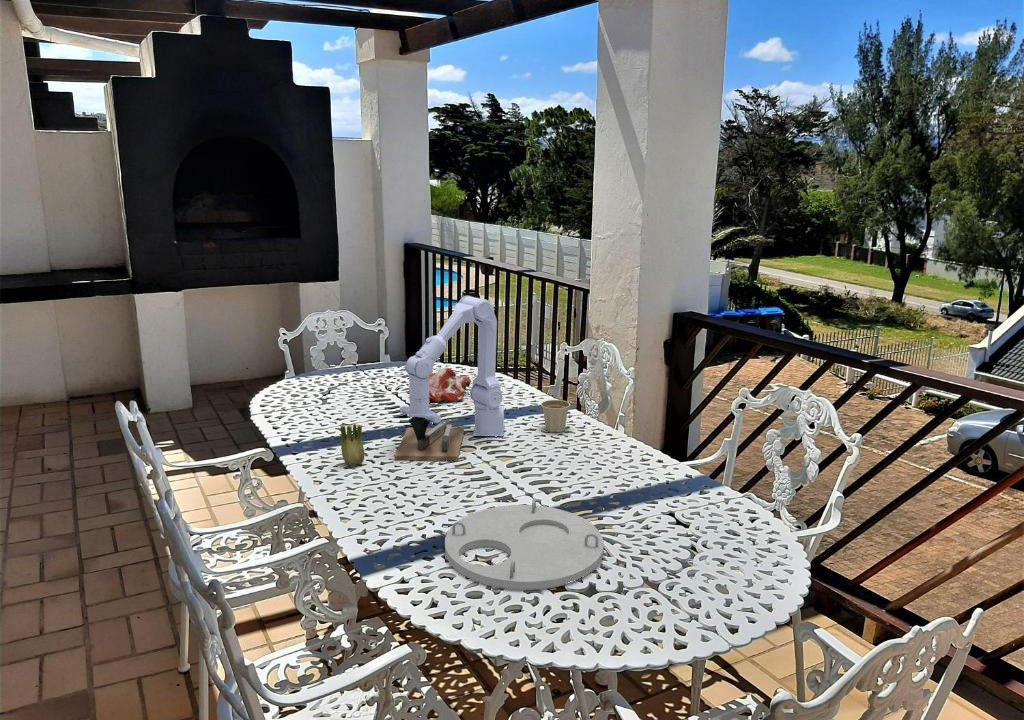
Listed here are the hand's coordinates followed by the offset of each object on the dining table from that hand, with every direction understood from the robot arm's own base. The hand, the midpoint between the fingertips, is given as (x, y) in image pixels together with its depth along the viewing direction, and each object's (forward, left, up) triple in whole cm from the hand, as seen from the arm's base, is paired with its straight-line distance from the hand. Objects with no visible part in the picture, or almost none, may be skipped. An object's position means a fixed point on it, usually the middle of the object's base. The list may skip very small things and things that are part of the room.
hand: (420, 440), depth 216 cm
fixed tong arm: (-8, -2, -1) cm, 8 cm away
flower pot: (-41, -19, -3) cm, 45 cm away
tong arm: (-3, -4, -1) cm, 5 cm away
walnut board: (-3, -3, -3) cm, 5 cm away
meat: (0, -54, -3) cm, 54 cm away
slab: (-31, +58, -3) cm, 65 cm away
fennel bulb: (+17, +12, -3) cm, 21 cm away
